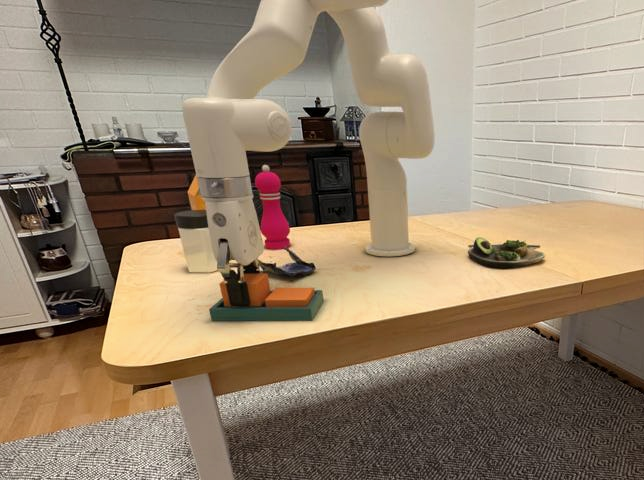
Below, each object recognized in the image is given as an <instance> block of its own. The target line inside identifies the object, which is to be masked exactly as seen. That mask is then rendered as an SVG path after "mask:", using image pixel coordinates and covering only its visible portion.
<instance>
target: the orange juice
mask: <svg viewBox="0 0 644 480" xmlns="http://www.w3.org/2000/svg"><path fill="white" fill-rule="evenodd" d="M187 196H188V200H189V203H190V209H191V210H206V203H205V201H203V200H202V199H201V194H200V190H199V185H198V181H197V175H196V174H195V175H194V178H193V180H192V182H191V184H190V185H189V188H188V190H187Z"/></svg>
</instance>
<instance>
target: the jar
mask: <svg viewBox="0 0 644 480" xmlns="http://www.w3.org/2000/svg"><path fill="white" fill-rule="evenodd" d="M173 216H174V220H175V224H176V227H177V229H178V233H179V238H180V241H181V246H182V249H183V253H184V258H185V261H186V265H187V269H188V273H207V274H208V273H213V272H218V270H217V262H216V260H215V257H214V253H213V249H212V244H211V239H210V234H209V227H208V221H207V213H206V210H192V209H191V210H183V211H179V212H176V213H174V214H173Z"/></svg>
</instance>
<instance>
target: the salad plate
mask: <svg viewBox="0 0 644 480" xmlns="http://www.w3.org/2000/svg"><path fill="white" fill-rule="evenodd" d="M505 241H506V242H503V243H498V244H491V242H490V241H488V240H487V239H486V238H484V237H479V236H478V237H476V238H475V240H474V242H473V244H469V245H467V247H468V250H467V254H468V255H469V257H470V259H471V260H472V261H474V262H476V263H477V264H479V265H481V266H484V267H487V268H493V269H513V268H517V267H518V268H520V267H526V266H529V265H533V264H537V263H539V262H540V261H542V260H543V259H545V258H546V254H545V253H544V252H541V251H539V250H538V251H537V249H540V248H541V245H539V244H528V243H527V241H526V240H522V241H520V240H519V239H517V240H510V239H507V240H505Z"/></svg>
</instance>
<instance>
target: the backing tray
mask: <svg viewBox="0 0 644 480" xmlns="http://www.w3.org/2000/svg"><path fill="white" fill-rule="evenodd" d="M314 290H315V296H314V297H313V299H312V300H311V302H310V304H309V305H308V307H266V304H265V302H264V303H263V304H262V305H261V306H260V307H224V303H223V298H220V299H219V300H218V301H216V302H215V304H213V305H212V306H211V307H210V308H209V309H208V311H209V315H210V321H211V322H253V321H254V322H256V321H257V322H263V321H265V322H267V321H269V322H271V321H272V322H274V321H277V322H278V321H279V322H280V321H313V320H314V318H315V317H316V315H317V313H318V312H319V310H320V308H321V306H322V305H323V303H324V299H325V298H324V292H323V289H314ZM273 291H274V289H272V290H271V289H270V292H271V293H272V292H273Z"/></svg>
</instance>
